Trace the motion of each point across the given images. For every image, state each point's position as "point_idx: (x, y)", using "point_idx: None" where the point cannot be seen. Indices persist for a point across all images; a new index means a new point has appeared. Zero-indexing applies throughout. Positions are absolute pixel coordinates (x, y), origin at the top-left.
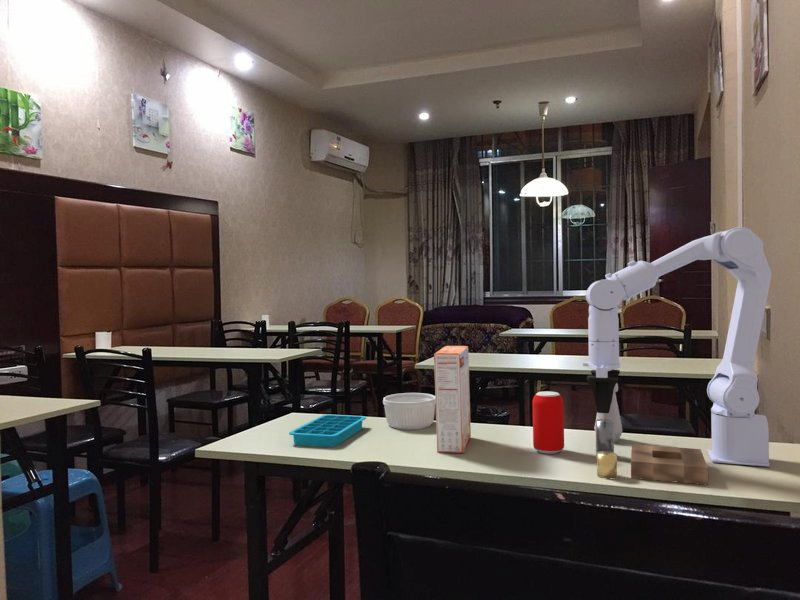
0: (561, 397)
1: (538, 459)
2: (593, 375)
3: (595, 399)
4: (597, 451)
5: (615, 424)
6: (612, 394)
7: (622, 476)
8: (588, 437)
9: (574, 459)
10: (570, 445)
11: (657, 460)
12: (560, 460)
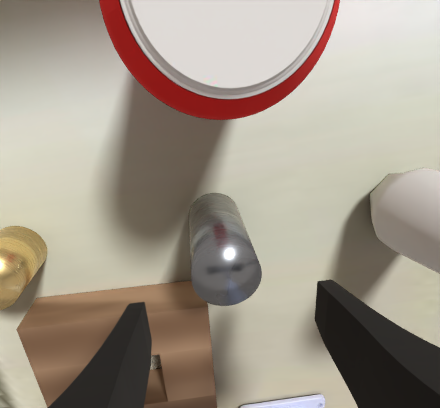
0: (232, 109)
1: (75, 18)
2: (436, 399)
3: (98, 354)
4: (198, 205)
5: (398, 250)
6: (340, 372)
7: (40, 279)
8: (420, 137)
9: (137, 141)
10: (304, 98)
11: (64, 374)
12: (103, 100)
